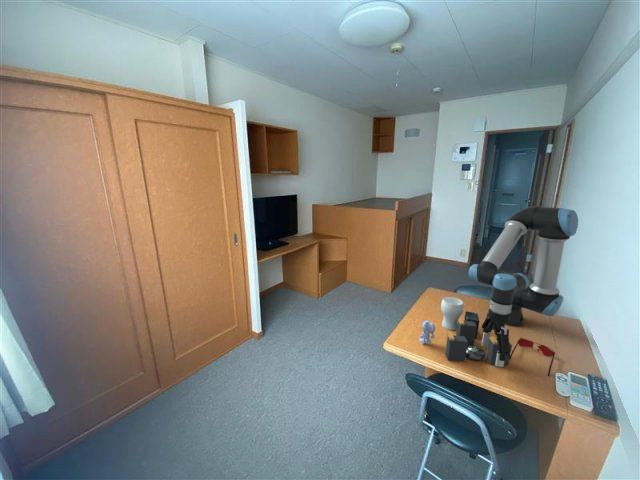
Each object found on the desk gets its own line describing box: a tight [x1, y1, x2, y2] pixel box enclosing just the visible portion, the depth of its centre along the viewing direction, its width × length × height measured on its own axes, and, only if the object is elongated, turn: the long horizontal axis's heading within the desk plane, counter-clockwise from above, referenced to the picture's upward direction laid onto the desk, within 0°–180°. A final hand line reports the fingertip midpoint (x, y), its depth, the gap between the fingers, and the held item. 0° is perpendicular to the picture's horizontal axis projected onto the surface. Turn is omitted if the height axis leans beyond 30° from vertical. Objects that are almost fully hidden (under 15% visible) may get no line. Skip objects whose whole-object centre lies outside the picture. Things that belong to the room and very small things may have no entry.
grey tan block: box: [455, 318, 477, 345], centre depth 129 cm, size 7×4×11 cm, turn 81°
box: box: [463, 310, 480, 340], centre depth 135 cm, size 8×6×11 cm
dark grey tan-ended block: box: [485, 336, 513, 367], centre depth 114 cm, size 7×4×11 cm, turn 81°
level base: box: [465, 343, 486, 363], centre depth 120 cm, size 10×10×4 cm
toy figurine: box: [419, 320, 436, 345], centre depth 128 cm, size 7×6×12 cm
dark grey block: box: [445, 332, 468, 363], centre depth 117 cm, size 7×4×11 cm, turn 81°
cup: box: [440, 296, 464, 331], centre depth 142 cm, size 11×11×15 cm
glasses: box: [509, 337, 556, 377], centre depth 117 cm, size 14×16×5 cm
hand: (491, 355), depth 115 cm, fingers open, 13 cm apart
